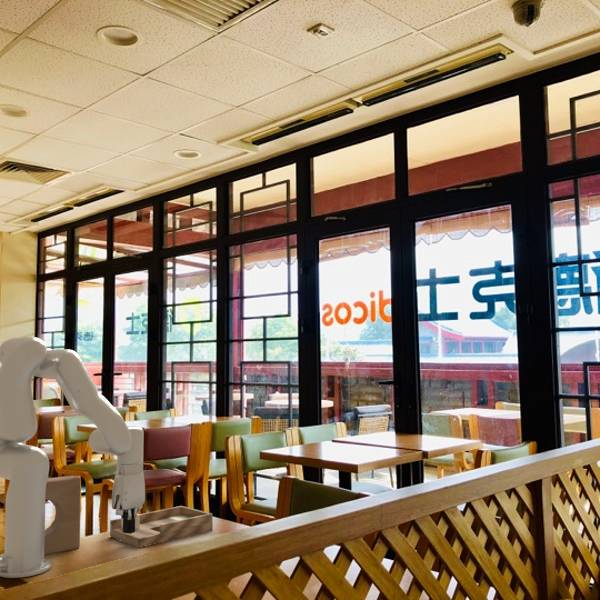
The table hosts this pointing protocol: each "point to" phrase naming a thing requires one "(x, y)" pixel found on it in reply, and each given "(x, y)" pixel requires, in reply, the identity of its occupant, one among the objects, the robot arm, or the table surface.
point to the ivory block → (137, 522)
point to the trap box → (164, 526)
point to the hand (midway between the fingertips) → (128, 532)
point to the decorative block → (63, 514)
